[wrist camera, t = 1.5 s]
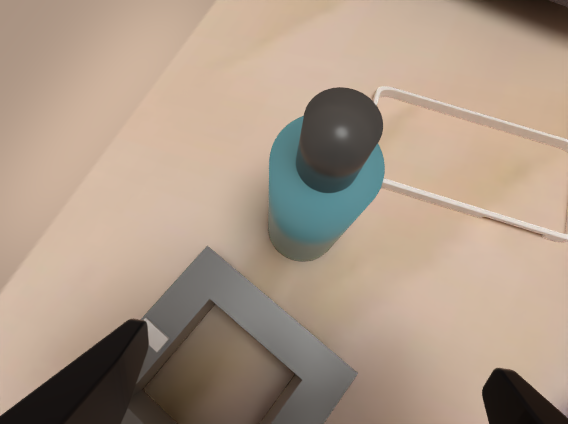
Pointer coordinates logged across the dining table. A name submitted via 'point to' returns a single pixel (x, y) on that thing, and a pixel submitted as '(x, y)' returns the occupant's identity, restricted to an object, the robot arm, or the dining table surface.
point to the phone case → (485, 121)
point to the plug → (324, 172)
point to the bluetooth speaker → (561, 2)
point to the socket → (257, 322)
